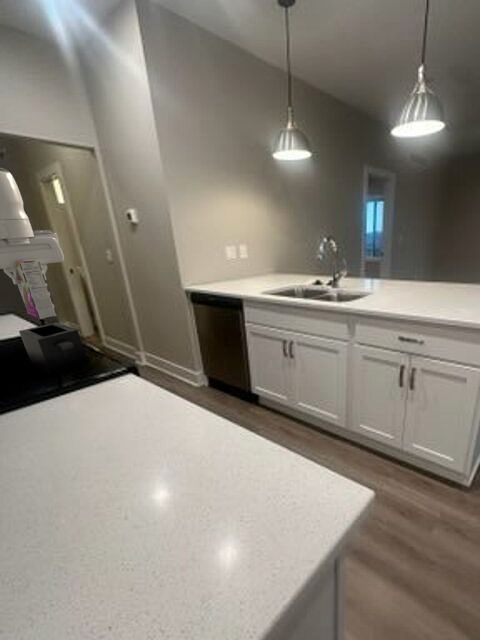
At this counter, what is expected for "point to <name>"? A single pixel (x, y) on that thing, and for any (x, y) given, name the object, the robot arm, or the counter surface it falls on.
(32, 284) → the candy bar box
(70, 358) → the dark grey storage bin
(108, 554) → the counter surface
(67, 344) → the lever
